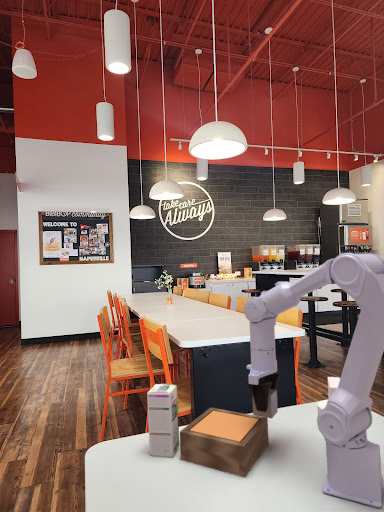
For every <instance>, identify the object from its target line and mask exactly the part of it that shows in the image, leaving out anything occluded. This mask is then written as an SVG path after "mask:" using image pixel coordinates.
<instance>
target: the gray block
mask: <svg viewBox="0 0 384 512" xmlns="http://www.w3.org/2000/svg"><path fill="white" fill-rule="evenodd" d="M277 392H278V390H277V389H276V390H274V389H270V390H269V395H268V406H267V411H266V412H262V411H257V409H256V406H255V402H254V398H253V395H252V415H254V416H260V417H265V418H267V419H273V418H274V416H276V415H277V413H278V393H277Z"/></svg>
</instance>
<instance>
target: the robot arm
mask: <svg viewBox="0 0 384 512" xmlns="http://www.w3.org/2000/svg"><path fill="white" fill-rule="evenodd" d="M274 285H275V286H274V287H272V288H271V289H268V290H263V291H262V292H260V295H259V296H249V298H248V299H246V300H245V302H244V304H243V313H244V316H245V318H246V319H247V321H249V343H250V346H249V347H250V363H249V364H247V365H246V369H247V370H249V374H248V378H246V385H247V387H248V388H249V390H250V392H251V394H252V395H253V398H254V402H255V406H256V409H257V411H262V412H266V411H267V406H268V395H269V390H270V389H274V390H277V385H278V382H279V379H280V377H281V375H282V374H281V373H282V372H280V371H278V361H277V356H276V355H277V354H276V336H275V334H276V333H275V332H276V331H275V327H276V326H275V325H276V323H277V322H276V321H277V317H278V316H279V315H280V314H282V313H284V312H286V311H288V310H291V309H292V308H294V307H297V306H298V305H299V304H300V302H301V297H303V296H306V295H307V294H309V293H312V292H314V291H317V290H319V289H321V288H323V287H325V286H327V285H337V286H338V288H340V289H341V290H342V291H343V292H345V293H346V294H347V295H348V296H350V297H351V298H352V299H353V300H354V302H355V303H356V305H357V306H358V307H359V310H360V312H359V316H358V320H357V323H356V325H355V329H354V333H353V336H352V338H351V342H350V345H349V349H348V353H347V356H346V359H345V362H344V365H343V369H342V372H341V375H340V377H339V378H340V381H339V385H338V387H337V389H336V390H335V391H334V393H333V394H332V395H331V397H330V398H329V397H328V399H327V400H328V401H327V405H326V407H325V408H324V409H322V410H321V411H320V412H319V414H318V413H317V418H316V424H317V427H318V430H319V432H320V434H321V435H322V437H323V438H324V441H325V449H326V450H325V451H326V452H325V454H326V455H325V456H326V468H327V469H326V470H327V471H326V472H327V473H326V476H325V477H326V478H325V480H324V483H323V486H322V487H323V488H322V492H323V493H324V494H327V495H332V496H335V497H339V498H342V499H346V500H350V501H354V502H357V503H361V504H364V505H367V506H372V507H375V508H378V509H379V508H381V507H382V500H383V499H382V496H383V490H384V477H382V459H381V458H382V457H381V448H380V444H378V443H375V442H371V441H369V440H368V434H367V430H369V428H370V427H371V426H372V424H373V414H372V406H373V403H374V401H373V399H372V398H371V397H370V394H371V391H372V388H373V386H374V385H373V384H374V381H375V378H376V376H377V372H378V369H379V366H380V363H381V360H382V357H383V353H384V259H383V257H381V256H380V255H378V254H375V253H372V252H371V253H351V252H345V253H340V254H339V255H337V256H336V257H334V258H330V259H328V260H326V261H325V262H324V263H322V264H320V265H319V266H318V267H316V268H314V269H313V270H311V271H309V272H307V274H305V275H303V276H302V277H300V278H299V279H297V280H295V281H294V282H289V281H284V280H283V281H282V280H281V281H277V282H276V283H274ZM253 398H252V399H253Z"/></svg>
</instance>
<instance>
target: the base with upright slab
mask: <svg viewBox="0 0 384 512" xmlns="http://www.w3.org/2000/svg"><path fill="white" fill-rule="evenodd" d="M340 378H341V377H336V376H327V389H328V390H327V392H328V393H327V394H328V399H329V398H330V397H331V395H332V394H333V393H334V391H335V390H336V389H337V387H338V385H339V381H340ZM328 399H324V400H320V401H318V402H317V404H316V405H317V406H316V407H317V415H318V414H319V412H320V411H321V410H322V409H324V408H325V407H326V405H327V401H328Z"/></svg>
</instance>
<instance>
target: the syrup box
mask: <svg viewBox="0 0 384 512" xmlns="http://www.w3.org/2000/svg"><path fill="white" fill-rule="evenodd" d="M146 396H147V401H146V402H147V421H148V443H149V445H148V446H149V448H148V449H149V455H150V456H153V457H159V458H161V457H162V458H165V457H166V458H174V457H175V454H176V452H177V450H178V448H179V447H180V428H179V427H180V426H179V408H178V407H179V406H178V405H179V404H178V387H177V384H173V383H160V384H159V383H158V384H157V383H155V384H154V386H153V387H151V388H150V389H149V391H147V392H146Z"/></svg>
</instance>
